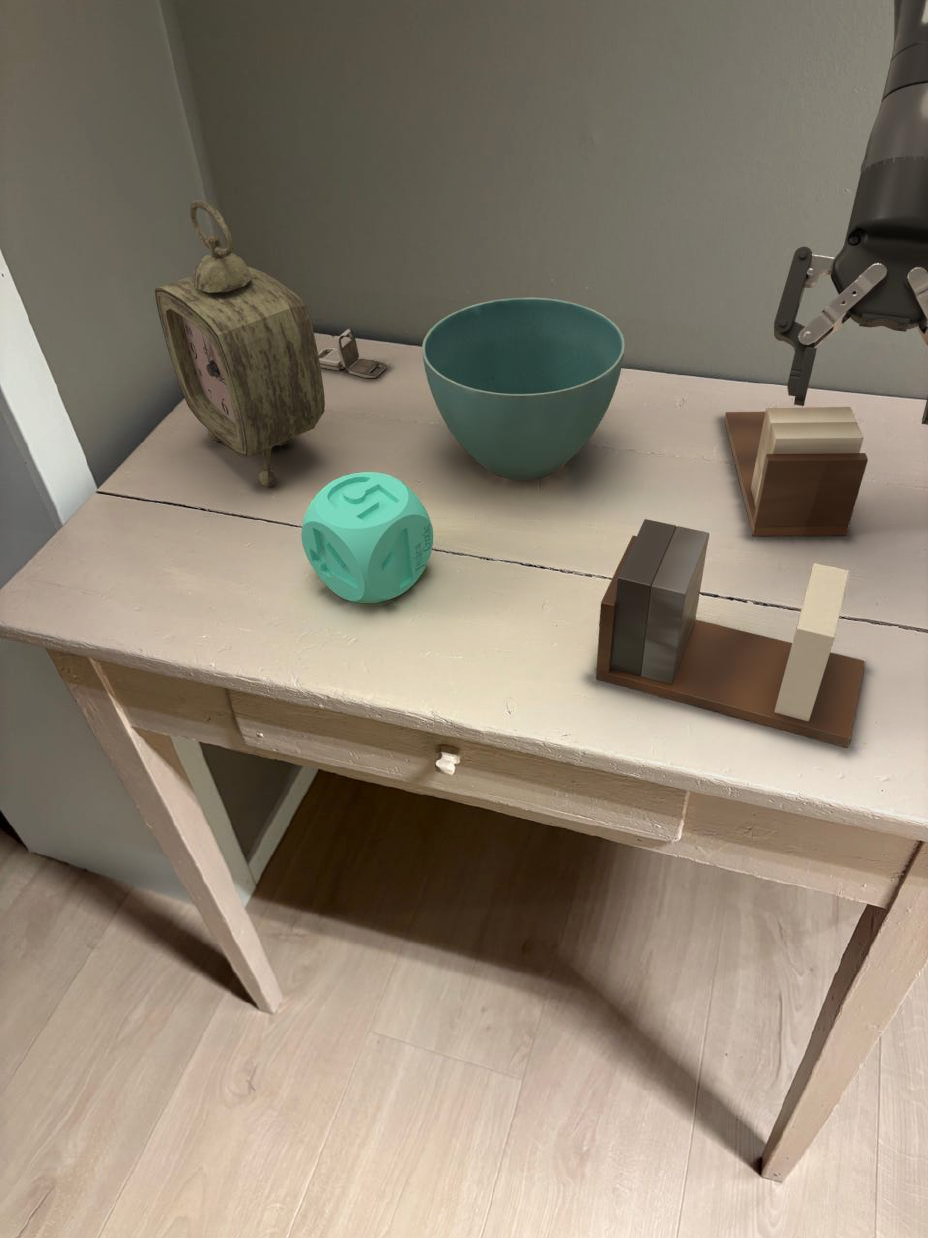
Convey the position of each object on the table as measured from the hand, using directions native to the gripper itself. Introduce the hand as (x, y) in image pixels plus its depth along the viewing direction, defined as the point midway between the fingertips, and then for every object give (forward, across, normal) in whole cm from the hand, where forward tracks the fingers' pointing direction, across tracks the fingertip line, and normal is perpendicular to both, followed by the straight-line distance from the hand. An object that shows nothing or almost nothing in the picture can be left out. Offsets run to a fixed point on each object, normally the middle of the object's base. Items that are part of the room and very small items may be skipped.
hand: (862, 413), depth 66 cm
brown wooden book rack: (+2, -5, +24) cm, 24 cm away
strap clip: (-2, -54, +29) cm, 61 cm away
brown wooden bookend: (+20, -5, +3) cm, 21 cm away
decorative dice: (+19, -36, +5) cm, 41 cm away
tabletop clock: (+10, -54, +15) cm, 57 cm away
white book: (+20, 0, +3) cm, 20 cm away
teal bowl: (+5, -29, +20) cm, 36 cm away
